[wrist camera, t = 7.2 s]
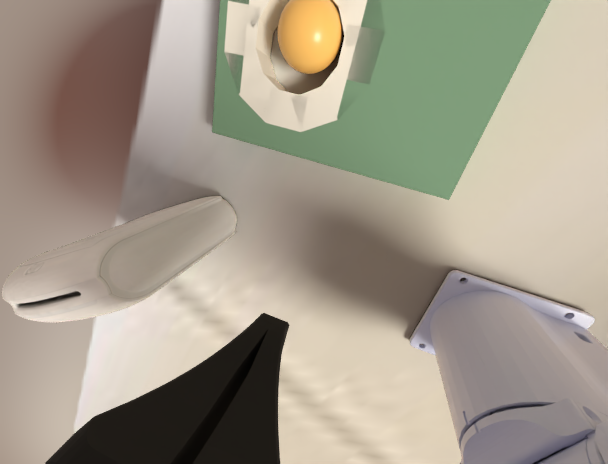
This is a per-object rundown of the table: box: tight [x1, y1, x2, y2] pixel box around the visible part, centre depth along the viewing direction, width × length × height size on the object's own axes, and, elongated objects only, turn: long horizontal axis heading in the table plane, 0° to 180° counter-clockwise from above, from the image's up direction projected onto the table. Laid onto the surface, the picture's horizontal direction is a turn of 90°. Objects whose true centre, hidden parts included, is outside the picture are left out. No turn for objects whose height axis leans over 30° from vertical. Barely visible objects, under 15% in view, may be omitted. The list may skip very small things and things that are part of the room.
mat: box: [212, 0, 551, 200], centre depth 14 cm, size 16×12×2 cm
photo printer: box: [2, 196, 237, 322], centre depth 18 cm, size 10×4×12 cm, turn 108°
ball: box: [278, 0, 342, 74], centre depth 14 cm, size 4×4×4 cm
